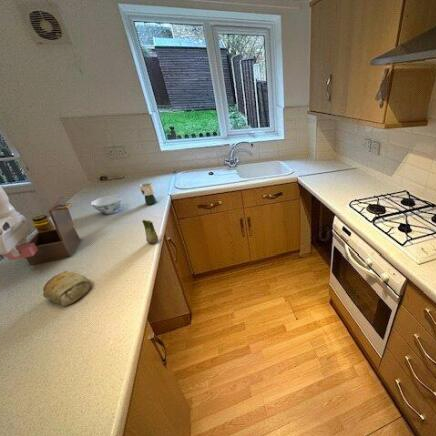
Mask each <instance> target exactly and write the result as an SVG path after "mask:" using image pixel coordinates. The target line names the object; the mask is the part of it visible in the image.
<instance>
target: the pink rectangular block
mask: <svg viewBox="0 0 436 436" xmlns="http://www.w3.org/2000/svg"><path fill="white" fill-rule="evenodd" d="M27 243H28V242H27ZM15 247H16V248H15V249H16V250H20V252H21V254H20V256H17V257H14V256H13V255H12V254H11V253H7V254H4V256H5V257H6V258H7V260H8V261H13V260H19V259H24V258H25V259H26V257H30V256H33V255H34V254H35V253H36V252H37V250H38V249H37V247H36V246H35V244H34V243H28V244H23V245H20V244H16V246H15Z"/></svg>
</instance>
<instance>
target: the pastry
mask: <svg viewBox="0 0 436 436" xmlns="http://www.w3.org/2000/svg"><path fill="white" fill-rule="evenodd" d="M90 285H91V280H90V279H89V278H88V277H86V276H85V275H82V274H80V273H79V272H76V271H70V270H69V271H68V270H64V271H63V272H61V273H59V274H57V275H54V276H53V277H52V278H50V279H48V281H47V282H46V283H45V284H44V286H43V287H42V291H43V292H42V297H44V299H45V298H46V299H48V300H49V301H51V302H52V303H54V304H58V305H61V306H62V307H68V306H69V305H72V304H74V303H75V302H76V301H78V300H79V299H81V298H83V296H84V295H86V294H87V293H88V292H89V291H90V289H91V287H90Z"/></svg>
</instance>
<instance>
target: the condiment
mask: <svg viewBox="0 0 436 436" xmlns="http://www.w3.org/2000/svg"><path fill="white" fill-rule="evenodd" d="M31 221H32V222H33V226H34V227H35V229H36V231H37V232H42V231H48V230H54V229H56V228H55V226H54V223H53V221H52V219H51V220H50V219H49V217H48V215H46V214H40V215H36V216H34V217H32V218H31Z"/></svg>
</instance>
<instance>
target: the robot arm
mask: <svg viewBox="0 0 436 436" xmlns="http://www.w3.org/2000/svg"><path fill="white" fill-rule="evenodd" d="M31 230H32V225H31V224H30V222H29V220H28V219H27V218H26V217H25V215H23V214H21V212H19V211H17V210H16V208H15V207H14V206H13V205H12V203H10V198H9V196H8V194H7V193H6V191H5V190H4V188H3V187H2V186H1V185H0V256H2V255H5V254H7V253H11V254H12V255H13V256H14V257H17V256H20V254H21V252H20V250H16V249H15V248H16V247H15V246H17V245H18V244H19V245H23V244H27V243H28V240H27V236H26V235H28V234H29V232H31Z"/></svg>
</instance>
